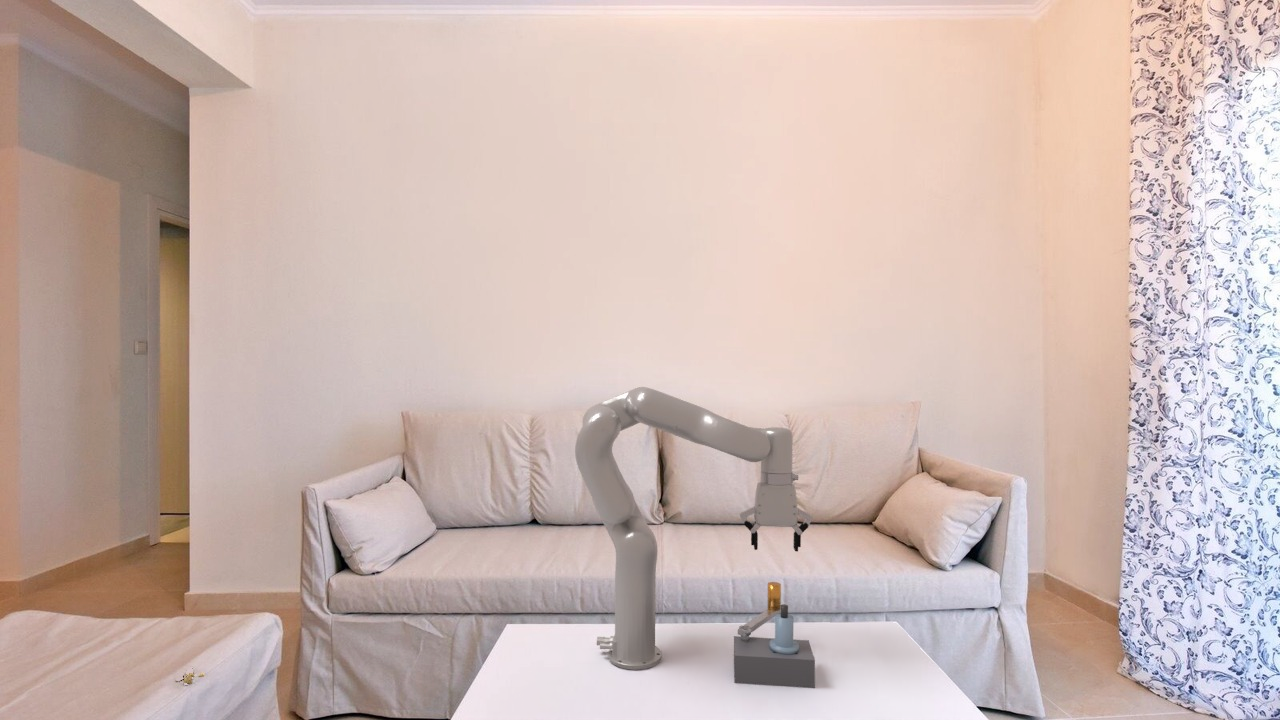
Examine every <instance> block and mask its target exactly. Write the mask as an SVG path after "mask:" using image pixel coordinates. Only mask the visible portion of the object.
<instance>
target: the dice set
mask: <svg viewBox="0 0 1280 720" xmlns="http://www.w3.org/2000/svg"><path fill="white" fill-rule="evenodd" d="M192 667H193V668H194V666H192ZM193 668H192V669H193ZM194 674H195V673H194ZM194 674H193V673H189V674H186V673H185V676H184V680H183V684H184V683H187V684H189V685H188V686H190V685H192V683H193V680H192V677H194ZM186 675H187V676H188V677H186ZM202 677H205V672H201V673H198V678H202ZM194 678H195V677H194Z"/></svg>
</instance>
